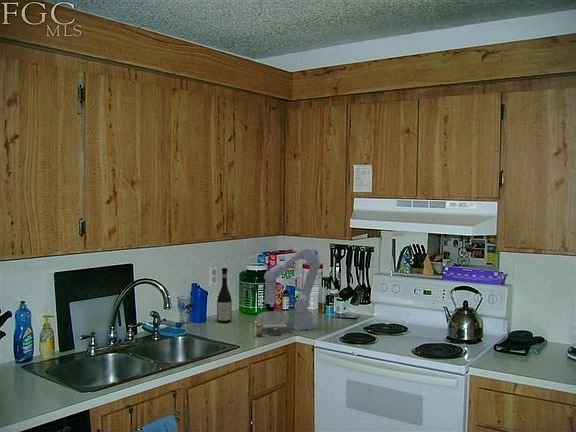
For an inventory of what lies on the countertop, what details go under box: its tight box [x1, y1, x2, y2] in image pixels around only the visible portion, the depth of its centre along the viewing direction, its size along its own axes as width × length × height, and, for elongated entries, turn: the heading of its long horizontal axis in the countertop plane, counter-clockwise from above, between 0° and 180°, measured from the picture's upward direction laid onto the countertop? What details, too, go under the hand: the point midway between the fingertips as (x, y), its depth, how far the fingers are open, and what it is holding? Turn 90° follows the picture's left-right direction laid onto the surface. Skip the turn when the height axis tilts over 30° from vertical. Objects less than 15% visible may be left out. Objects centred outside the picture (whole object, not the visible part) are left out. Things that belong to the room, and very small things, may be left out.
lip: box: [262, 326, 294, 337], centre depth 284 cm, size 19×6×3 cm, turn 100°
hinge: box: [255, 310, 288, 328], centre depth 297 cm, size 17×5×10 cm, turn 102°
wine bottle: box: [216, 267, 233, 324], centre depth 310 cm, size 8×8×30 cm
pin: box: [254, 322, 263, 338], centre depth 281 cm, size 4×4×6 cm
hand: (270, 317), depth 302 cm, fingers closed
